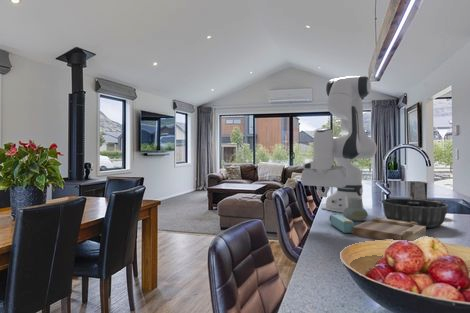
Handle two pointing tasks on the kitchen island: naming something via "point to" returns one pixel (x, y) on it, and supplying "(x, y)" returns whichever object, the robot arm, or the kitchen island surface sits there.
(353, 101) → the robot arm
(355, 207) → the air freshener
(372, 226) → the tan box with knobs
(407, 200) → the bundt pan
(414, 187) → the coffee box
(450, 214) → the kitchen island surface
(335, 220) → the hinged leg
